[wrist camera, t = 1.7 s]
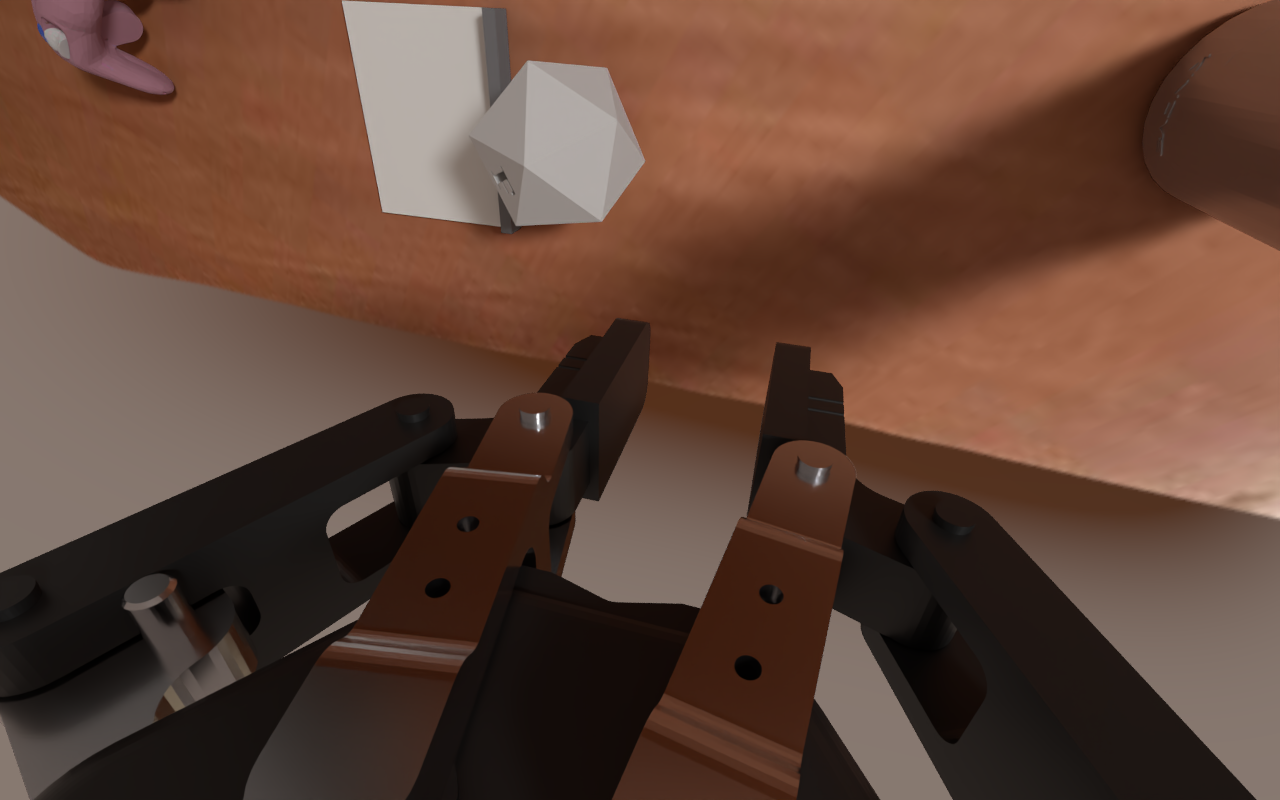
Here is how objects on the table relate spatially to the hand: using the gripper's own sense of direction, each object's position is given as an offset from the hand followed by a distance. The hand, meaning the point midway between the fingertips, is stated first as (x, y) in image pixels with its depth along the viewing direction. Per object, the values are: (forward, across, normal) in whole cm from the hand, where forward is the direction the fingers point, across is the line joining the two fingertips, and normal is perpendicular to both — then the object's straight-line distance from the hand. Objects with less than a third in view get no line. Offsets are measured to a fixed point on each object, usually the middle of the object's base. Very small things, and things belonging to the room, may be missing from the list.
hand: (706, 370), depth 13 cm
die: (+27, +12, 0) cm, 30 cm away
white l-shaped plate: (+27, +23, 0) cm, 36 cm away
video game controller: (+27, +42, -5) cm, 50 cm away
